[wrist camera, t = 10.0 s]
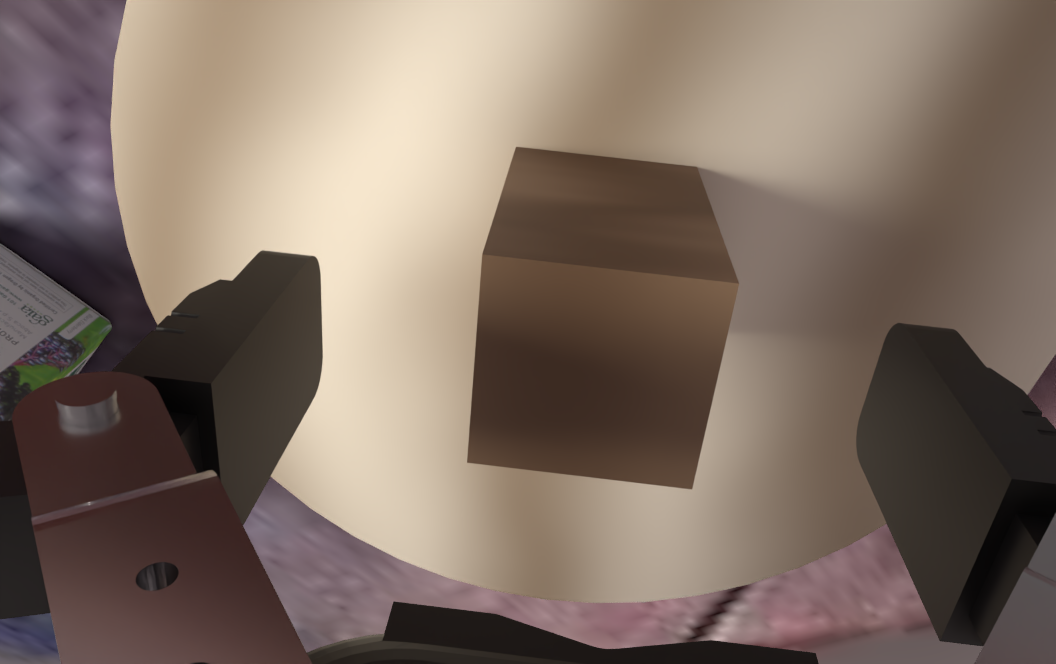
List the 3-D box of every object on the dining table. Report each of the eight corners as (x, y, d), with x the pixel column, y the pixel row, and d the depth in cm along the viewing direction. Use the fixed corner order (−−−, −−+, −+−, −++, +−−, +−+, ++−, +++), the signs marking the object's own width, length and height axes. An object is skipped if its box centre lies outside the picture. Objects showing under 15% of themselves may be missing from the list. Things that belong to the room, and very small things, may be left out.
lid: (1298, -296, 12) (1837, -440, 7) (916, 613, 21) (1027, 865, 15) (68, -418, 13) (-319, -643, 7) (184, 525, 21) (44, 740, 16)
